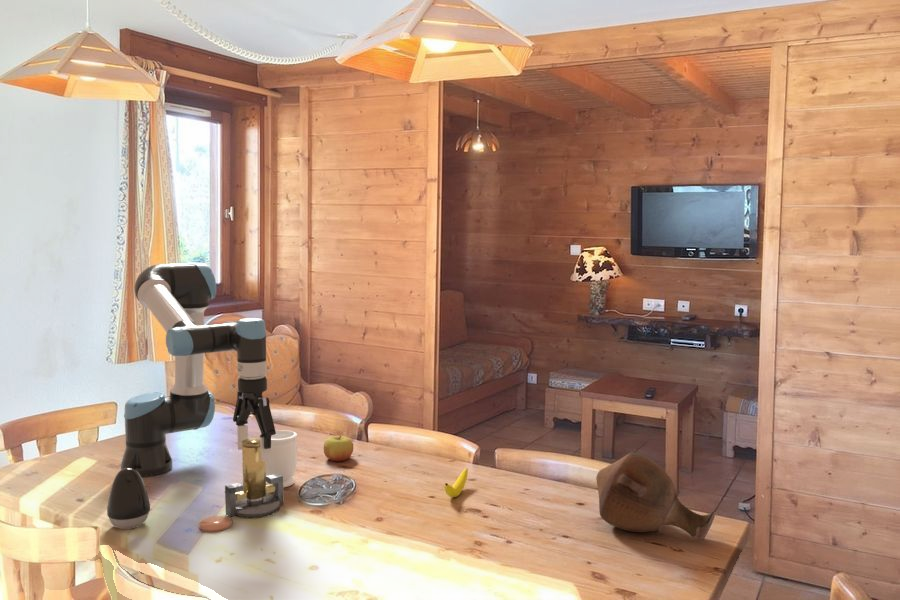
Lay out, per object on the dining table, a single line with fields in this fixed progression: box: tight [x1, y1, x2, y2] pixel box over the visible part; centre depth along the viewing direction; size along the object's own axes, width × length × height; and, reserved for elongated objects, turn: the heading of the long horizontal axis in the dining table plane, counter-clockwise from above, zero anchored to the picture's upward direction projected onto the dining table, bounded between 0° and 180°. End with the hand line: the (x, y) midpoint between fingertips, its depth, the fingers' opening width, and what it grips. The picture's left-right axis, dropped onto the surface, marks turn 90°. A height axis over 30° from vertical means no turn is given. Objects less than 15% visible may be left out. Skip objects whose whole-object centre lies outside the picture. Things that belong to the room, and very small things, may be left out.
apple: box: [323, 435, 354, 462], centre depth 256 cm, size 10×10×8 cm
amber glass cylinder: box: [235, 437, 275, 501], centre depth 211 cm, size 6×11×15 cm, turn 130°
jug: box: [595, 452, 716, 541], centre depth 197 cm, size 20×20×30 cm
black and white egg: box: [106, 468, 151, 530], centre depth 200 cm, size 10×10×15 cm
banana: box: [444, 467, 469, 498], centre depth 224 cm, size 3×19×6 cm, turn 161°
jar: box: [266, 429, 298, 489], centre depth 232 cm, size 11×10×15 cm
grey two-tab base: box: [224, 473, 284, 519], centre depth 212 cm, size 13×16×8 cm
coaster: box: [198, 515, 233, 533], centre depth 201 cm, size 8×8×1 cm
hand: (254, 454), depth 210 cm, fingers open, 13 cm apart
